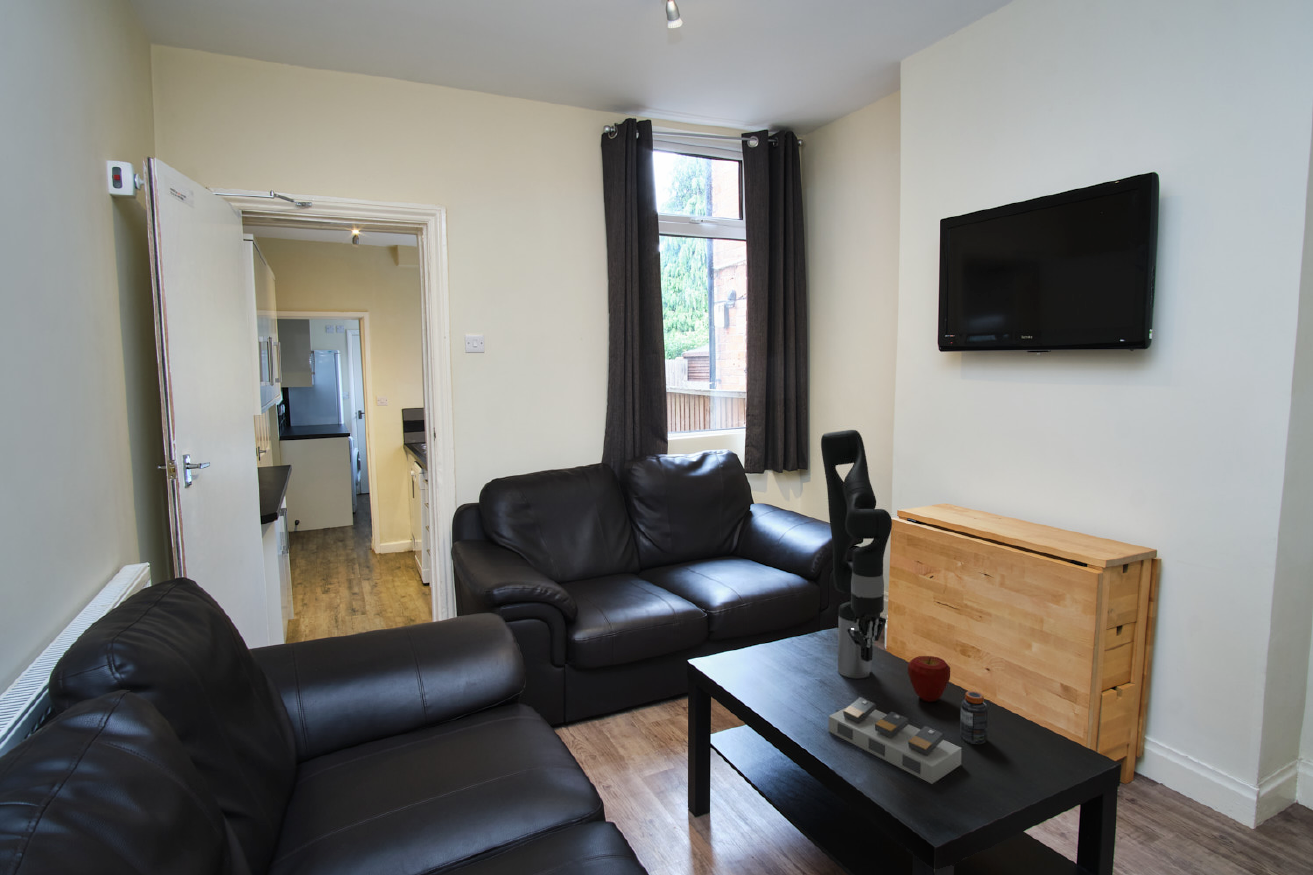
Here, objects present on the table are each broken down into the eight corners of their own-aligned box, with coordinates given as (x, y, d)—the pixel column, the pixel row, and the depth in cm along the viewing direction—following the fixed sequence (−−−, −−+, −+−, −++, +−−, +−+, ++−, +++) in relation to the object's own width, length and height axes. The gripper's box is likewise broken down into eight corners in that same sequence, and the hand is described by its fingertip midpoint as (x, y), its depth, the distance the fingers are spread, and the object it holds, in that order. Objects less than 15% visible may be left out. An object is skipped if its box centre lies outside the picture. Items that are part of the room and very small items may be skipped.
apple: (927, 686, 194) (928, 645, 193) (958, 703, 185) (960, 660, 184) (898, 694, 190) (899, 653, 189) (928, 712, 180) (930, 668, 179)
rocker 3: (925, 731, 159) (925, 724, 159) (943, 739, 156) (942, 732, 156) (909, 747, 156) (908, 741, 155) (926, 756, 152) (925, 749, 152)
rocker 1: (860, 702, 174) (860, 696, 173) (875, 709, 170) (874, 702, 170) (843, 716, 170) (843, 710, 169) (858, 723, 166) (857, 717, 166)
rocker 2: (892, 717, 167) (891, 710, 166) (908, 724, 163) (908, 717, 163) (875, 730, 163) (874, 723, 162) (891, 737, 159) (890, 730, 159)
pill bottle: (985, 734, 169) (986, 690, 168) (988, 746, 163) (989, 701, 162) (958, 730, 171) (960, 687, 170) (961, 742, 165) (962, 697, 164)
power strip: (851, 713, 180) (852, 696, 179) (961, 764, 156) (961, 745, 156) (821, 728, 172) (822, 711, 172) (931, 784, 149) (932, 764, 148)
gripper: (869, 581, 171) (868, 647, 173) (837, 593, 162) (836, 662, 164) (896, 588, 165) (895, 657, 167) (864, 601, 157) (863, 673, 158)
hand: (866, 659), depth 165 cm, fingers closed
